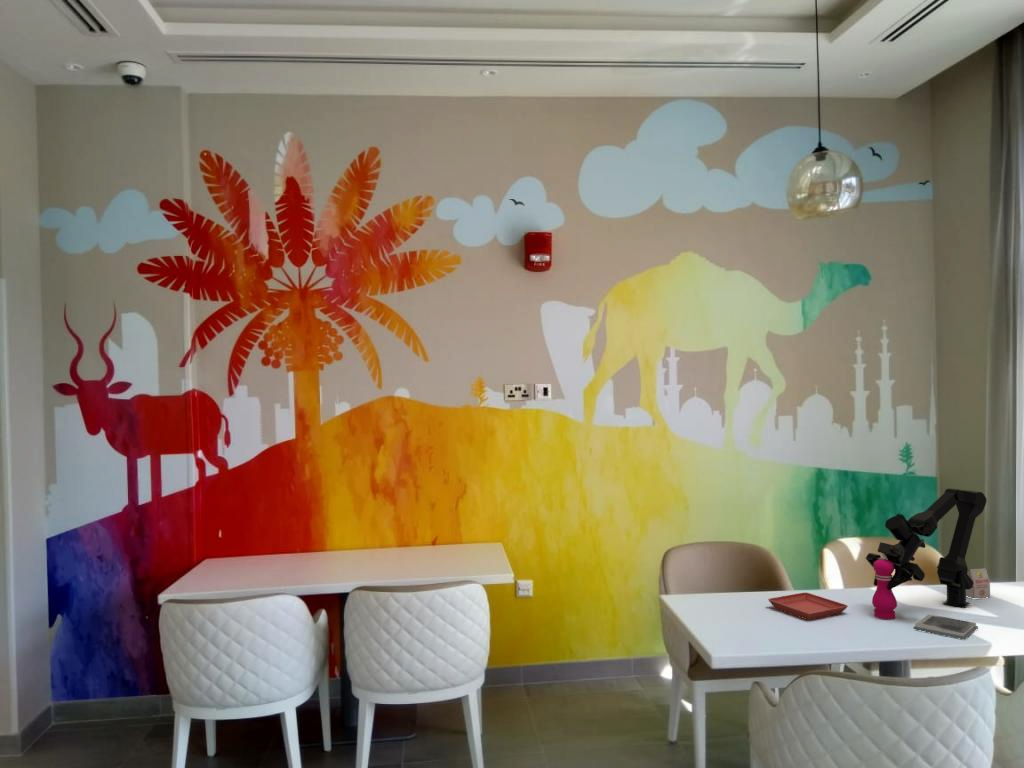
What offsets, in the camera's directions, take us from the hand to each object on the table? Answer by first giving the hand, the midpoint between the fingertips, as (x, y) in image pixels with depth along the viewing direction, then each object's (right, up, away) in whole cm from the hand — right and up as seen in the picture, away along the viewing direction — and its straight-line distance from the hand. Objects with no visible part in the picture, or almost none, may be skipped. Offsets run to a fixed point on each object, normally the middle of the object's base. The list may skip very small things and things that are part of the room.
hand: (881, 587), depth 249 cm
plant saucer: (-21, -11, +8) cm, 24 cm away
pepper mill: (+1, -10, +1) cm, 10 cm away
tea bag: (+43, -9, +21) cm, 49 cm away
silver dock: (+14, -10, -13) cm, 21 cm away
